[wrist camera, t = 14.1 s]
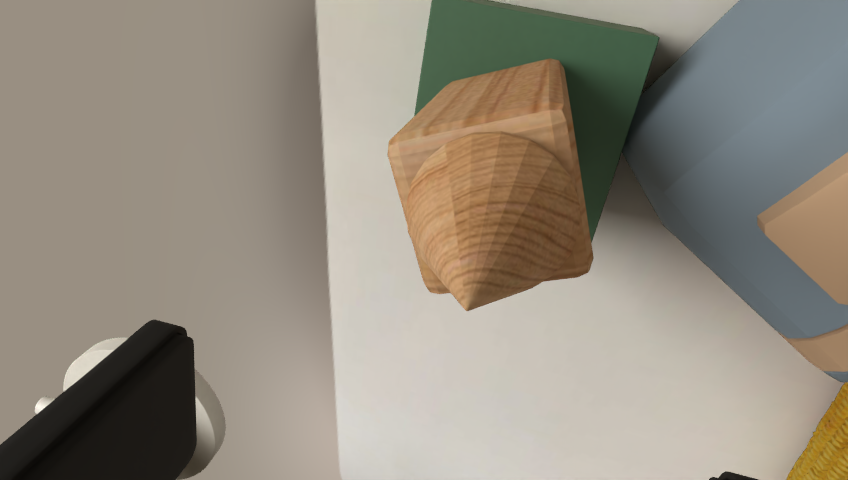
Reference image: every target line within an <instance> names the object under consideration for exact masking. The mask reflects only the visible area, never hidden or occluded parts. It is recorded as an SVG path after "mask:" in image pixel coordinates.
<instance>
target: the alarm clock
mask: <svg viewBox="0 0 848 480" xmlns="http://www.w3.org/2000/svg"><path fill="white" fill-rule="evenodd" d="M622 153H623V155H624V156H625V158H626V160H627V162H628V164H629V165H630V167H631V169H632V171H633V173H634V174H635V176H636V178H637V180H638V182H639V183H640V185H641V187H642V189H643V191H644V192H645V194H646V196H647V198H648V200H649V201H650V203H651V205H652V207H653V208H654V210H655V212H656V213H657V215H658V217H659V219H660V220H661V222H662V224H663V225H664V226H665V227H666V228H667V229H668V230H669V231H670V232H671V233H672V234H673V235H675V236H676V237H677V238H678V239H679V240H680V241H681V242H682V243H683V244H684V245H685V246H686V247H687V248H688V249H689V250H691V251H692V252H693V253H694V254H695V255H696V256H697V257H698V258H699V259H700V260H701V261H702V262H703V263H704V264H706V265H707V266H708V267H709V268H710V269H711V270H712V271H713V272H714V273H715V274H716V275H717V276H718V277H719V278H720V279H722V280H723V281H724V282H725V283H726V284H727V285H728V286H729V287H730V288H731V289H732V290H733V291H734V292H735V293H736V294H738V295H739V296H740V297H741V298H742V299H743V300H744V301H745V302H746V303H747V304H748V305H749V306H750V307H751V308H752V309H754V310H755V311H756V312H757V313H758V314H759V315H760V316H761V317H762V318H763V319H764V320H765V321H766V322H767V323H768V324H770V325H771V326H772V327H773V328H774V329H775V330H776V331H778V333H779V334H780V335H781V336H782V337H783V338H785V339H786V340H787V341H788V342H789V343H790V344H791V345H792V346H793V347H794V348H795V349H796V350H797V351H798V352H799V353H801V354H802V355H803V356H804V357H805V358H806V359H807V360H808V361H809V362H810V363H812V364H813V365H815V366H816V367H818V368H819V369H820V370H822V371H823V372H825V373H826V374H828V375H830V376H831V377H833V378H835V379H836V380H838V381H840V382H848V0H739V1H738V2H737V3H736V4H735V5H734V6H733V7H732V8H731V9H730V10H729V11H728V12H727V13H726V14H725V15H724V16H723V17H722V18H721V19H720V20H719V21H718V22H717V23H716V24H714V25H713V26H712V27H711V28H710V29H709V30H708V31H707V32H706V33H705V34H704V35H703V36H702V37H701V38H700V39H699V40H698V41H697V42H696V43H695V44H694V45H693V46H692V47H691V48H690V49H689V50H688V51H686V52H685V53H684V54H683V55H682V56H681V57H680V58H679V59H678V60H677V61H676V62H675V63H674V64H673V65H672V66H671V67H670V68H669V69H668V70H667V71H666V72H665V73H664V74H663V75H662V76H661V77H660V78H658V79H657V80H656V81H655V82H654V83H653V84H652V85H651V86H650V87H649V88H648V89H647V90H646V91H645V92H644V93H643V94H642V95H641V96H640V98H639V101H638V104H637V107H636V110H635V113H634V116H633V119H632V122H631V125H630V128H629V131H628V134H627V137H626V140H625V143H624V146H623V149H622Z"/></svg>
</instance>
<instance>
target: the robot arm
mask: <svg viewBox="0 0 848 480" xmlns="http://www.w3.org/2000/svg"><path fill="white" fill-rule="evenodd" d="M35 413H36V414H37V415H36V416H34V417H33V418H32V419H31V420H30V421H28V422H27V423H26V424H25V425H24V426H22V427H21V428H20V429H19V430H18V431H16V432H15V433H14V434H13V435H12V436H10V437H9V438H8V439H7V440H6V441H4V442H3V443H2V444H1V445H0V480H176V479H177V477H178V476H179V475H180V473H181V472H182V471H183V469H184V468H185V467H186V465H187V464H188V463H189V461H190V460H191V458H192V456H193V454H194V451H195V448H196V442H197V437H196V405H195V372H194V344H193V340H192V338H190V337H187V332H186V330H185V328H183V327H181V326H177V325H173V324H169V323H165V322H161V321H157V320H151V321H149V322H148V323H146V324H145V325H144V326H142V327H141V328H140V329H139V330H138V331H136V332H135V333H134V334H133V335H132V336H130V337H129V338H128V339H127V340H126V341H125V342H123V343H122V344H121V345H120V346H119V347H117V348H116V349H115V350H114V351H113V352H111V353H110V354H109V355H108V356H107V357H105V358H104V359H103V360H102V361H101V362H99V363H98V364H97V365H96V366H95V367H93V368H92V369H91V370H90V371H89V372H88V373H86V374H85V375H84V376H83V377H82V378H80V379H79V380H78V381H77V382H76V383H74V384H73V385H72V386H70V387H69V388H68V389H67V390H65V391H64V392H63V393H62V394H61V395H60V396H58V397H57V398H56V399H53V398H50V397H47V396H45V397H42V398H41V399H40V400H39V401H38V403H37V404H36V407H35ZM709 480H758V479H754V478H750V477H747V476H743V475H739V474H735V473H731V472H724V473H722V474H721V475H720V477H719V478H715V477H712V478H710V479H709Z"/></svg>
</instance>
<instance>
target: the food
mask: <svg viewBox="0 0 848 480" xmlns="http://www.w3.org/2000/svg"><path fill="white" fill-rule="evenodd" d="M787 480H848V382H846V383H845V384H844V385H843V386H842V387H841V389H840V391H839V393H838V394H837V397H836V398H835V401H834V402H832V404H831V406H830V408H829V409H828V410H827V412H826V414H825V415H824V416H823V418H822V419H821V421H820V422H819V424H818V426H817V428H816V432H813V437H812V438H811V439H810V441H809V443H808V445H807V448H806V449H805V451H803V453H802V455H801V456H800V458H799V459H798V460H797V461H796V463H795V465H794V467H793V468H792V470H791V471H790V473H789V475H788V477H787Z"/></svg>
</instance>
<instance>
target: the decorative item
mask: <svg viewBox="0 0 848 480" xmlns="http://www.w3.org/2000/svg"><path fill="white" fill-rule="evenodd" d="M388 157H389V161H390V165H391V168H392V172H393V175H394V179H395V182H396V186H397V189H398V193H399V196H400V200H401V204H402V207H403V211H404V214H405V218H406V221H407V225H408V233H409V235H410V237H411V239H412V243H413V246H414V250H415V253H416V257H417V260H418V264H419V267H420V271H421V274H422V278H423V281H424V283H425V285H426V287H427V288H428V290H429V291H430V292H432V293H437V294H444V293H451V294H452V295H453V296H454V297H455V298H456V299H457V301H458V302H459V303H460V304H461V305H462V307H463V308H464V309H465V310H466V311H469V310H472V309H475V308H477V307H480V306H483V305H486V304H489V303H491V302H494V301H497V300H500V299H503V298H506V297H508V296H511V295H514V294H517V293H520V292H522V291H525V290H528V289H531V288H533V287H534V286H536V285H538V284H539V283H541V282H543V281H550V280H558V279H567V278H575V277H579V276H581V275H583V274H586V273H588V271H589V270H590V267H591V264H592V261H593V252H592V245H591V239H590V232H589V226H588V219H587V212H586V206H585V199H584V193H583V186H582V179H581V173H580V166H579V160H578V153H577V147H576V140H575V133H574V127H573V120H572V114H571V108H570V101H569V95H568V89H567V83H566V77H565V70H564V67H563V66H562V64H561V63H560V61H559V60H555V59H546V60H541V61H537V62H533V63H529V64H524V65H520V66H516V67H512V68H507V69H503V70H499V71H495V72H490V73H486V74H482V75H478V76H473V77H469V78H465V79H461V80H456V81H452V82H451V83H450V84H448V85H447V86H445V87H444V88H443V89H442V90H441V91H440V92H439V93H438V94H437V95H436V96H435V97H434V98H433V99H432V100H431V101H430V102H429V103H428V104H427V105H426V106H425V107H424V108H423V109H422V110H421V111H420V112H419V113H417V114H416V115H415V116H414V117H413V118H412V119H411V120H410V121H409V122H408V123H407V124H406V125H405V126H404V127H403V128H402V129H401V130H400V131H399V132H398V133H397V134H396V135H395V136H394V137H393V138H392V139H391V140H390V141H389V146H388Z"/></svg>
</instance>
